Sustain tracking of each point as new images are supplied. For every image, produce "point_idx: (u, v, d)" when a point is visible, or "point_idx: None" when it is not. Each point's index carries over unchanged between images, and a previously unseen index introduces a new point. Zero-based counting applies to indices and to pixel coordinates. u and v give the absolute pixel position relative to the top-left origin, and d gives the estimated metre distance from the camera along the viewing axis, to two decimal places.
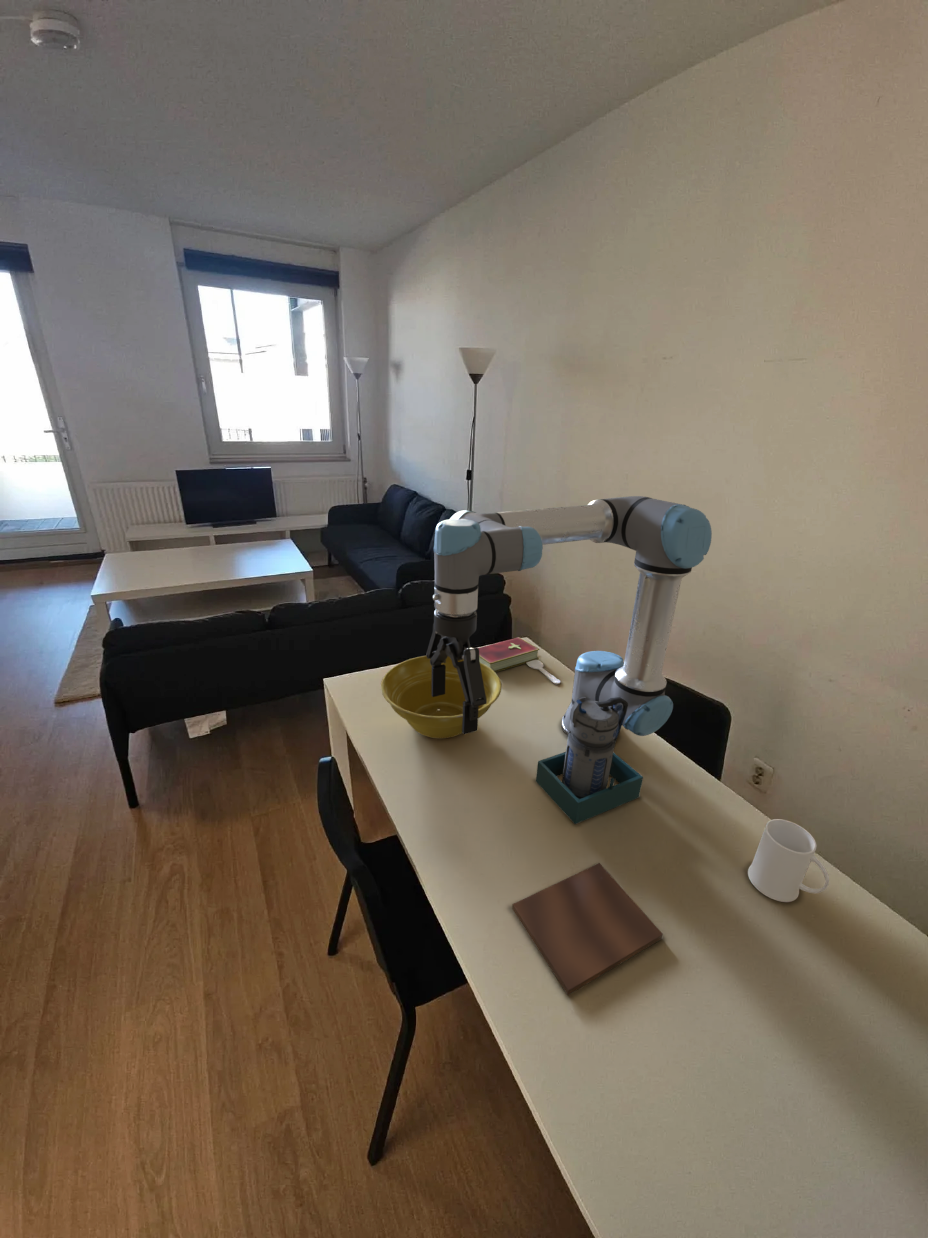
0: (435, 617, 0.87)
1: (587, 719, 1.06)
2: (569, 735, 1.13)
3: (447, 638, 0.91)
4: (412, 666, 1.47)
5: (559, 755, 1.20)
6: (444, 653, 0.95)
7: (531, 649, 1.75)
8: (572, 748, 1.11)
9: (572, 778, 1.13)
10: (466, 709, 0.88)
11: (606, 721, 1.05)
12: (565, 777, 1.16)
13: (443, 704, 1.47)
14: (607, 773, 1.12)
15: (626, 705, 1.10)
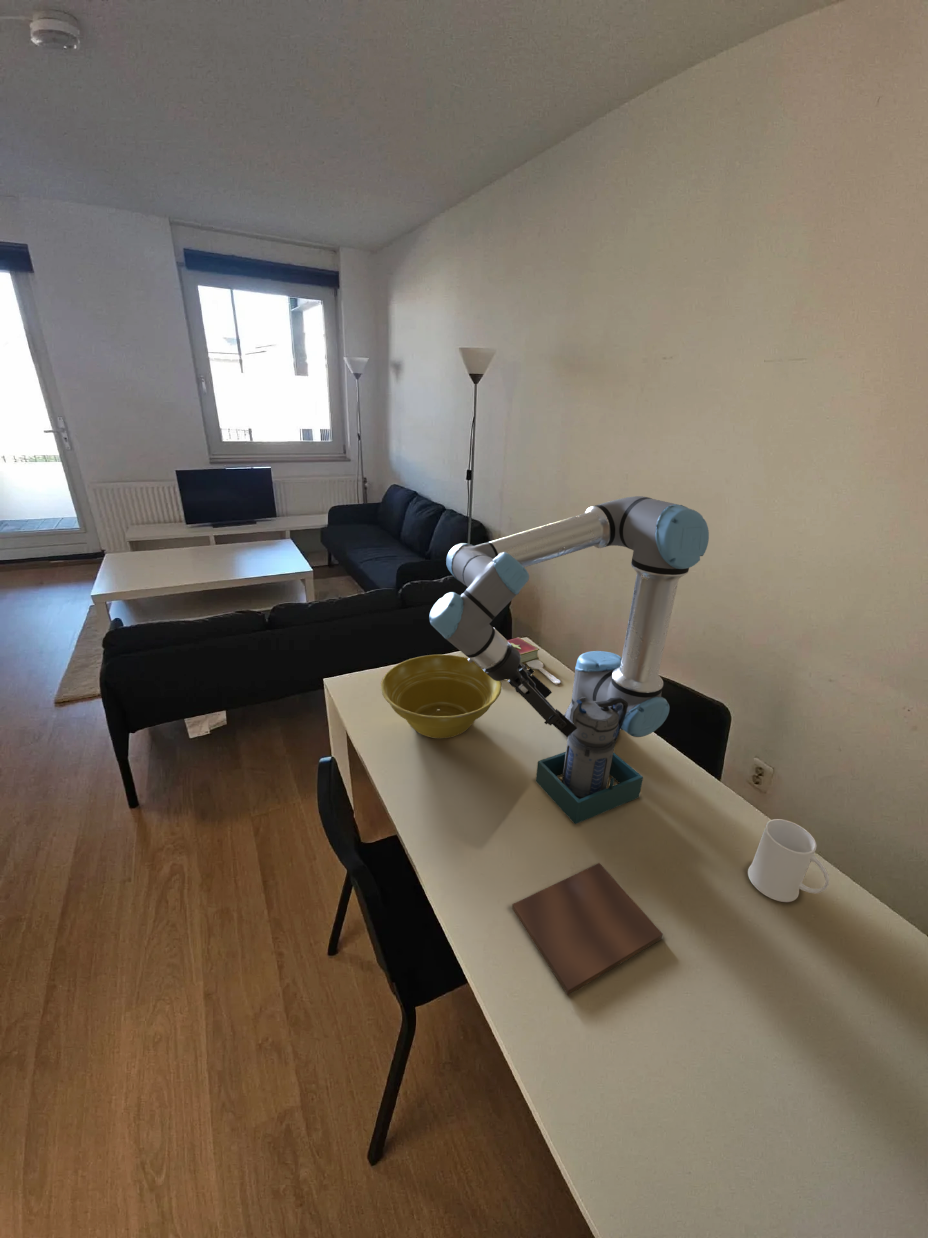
0: None
1: (587, 719, 1.06)
2: (569, 735, 1.13)
3: None
4: (412, 666, 1.47)
5: (559, 755, 1.20)
6: None
7: (531, 649, 1.75)
8: (572, 748, 1.11)
9: (572, 778, 1.13)
10: (552, 722, 0.99)
11: (606, 721, 1.05)
12: (565, 777, 1.16)
13: (443, 704, 1.47)
14: (607, 773, 1.12)
15: (626, 705, 1.10)
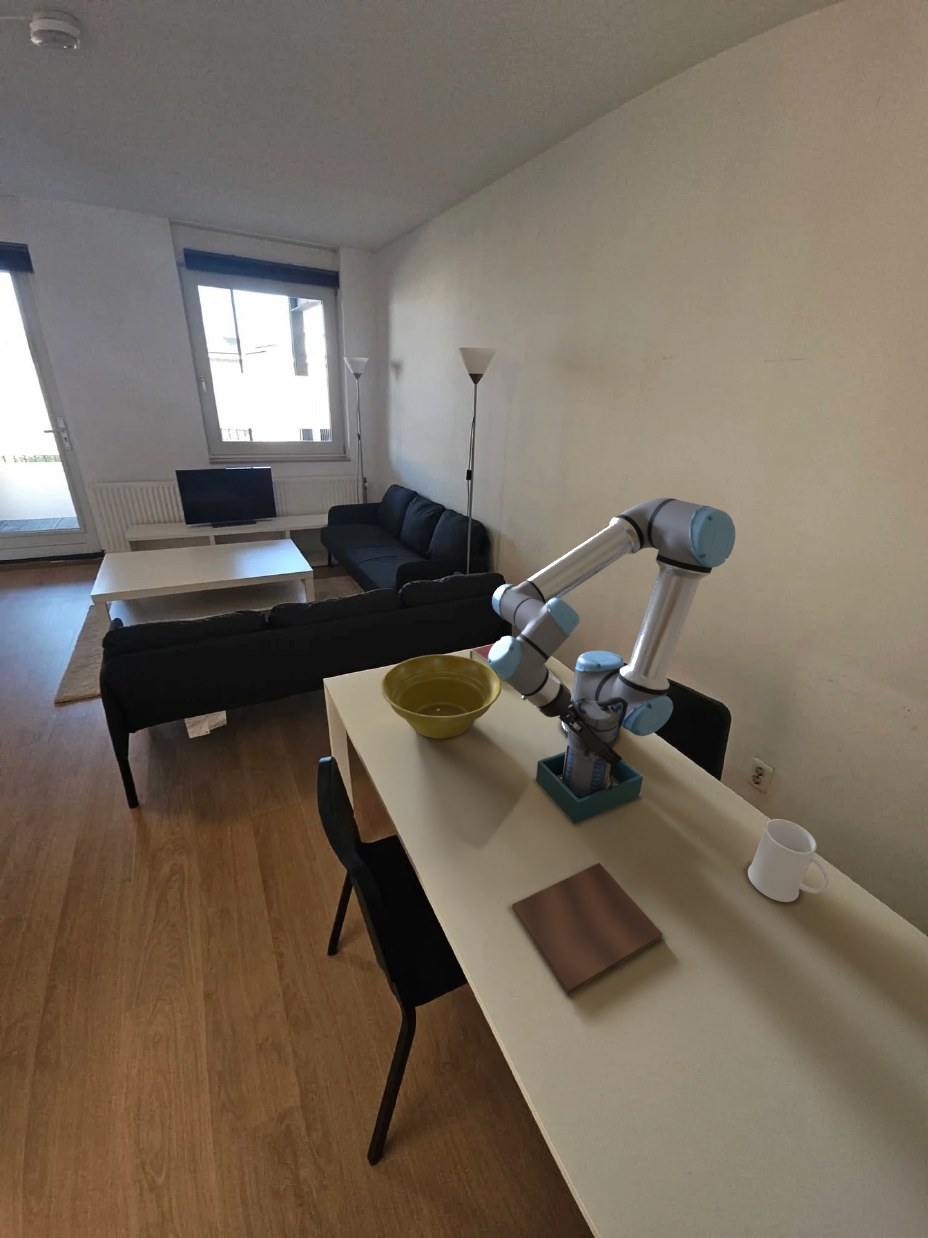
0: (535, 706, 1.06)
1: (587, 719, 1.06)
2: (569, 735, 1.13)
3: None
4: (412, 666, 1.47)
5: (559, 755, 1.20)
6: None
7: None
8: (572, 748, 1.11)
9: (572, 778, 1.13)
10: None
11: (606, 721, 1.05)
12: (565, 777, 1.16)
13: (443, 704, 1.47)
14: (607, 773, 1.12)
15: (626, 705, 1.10)
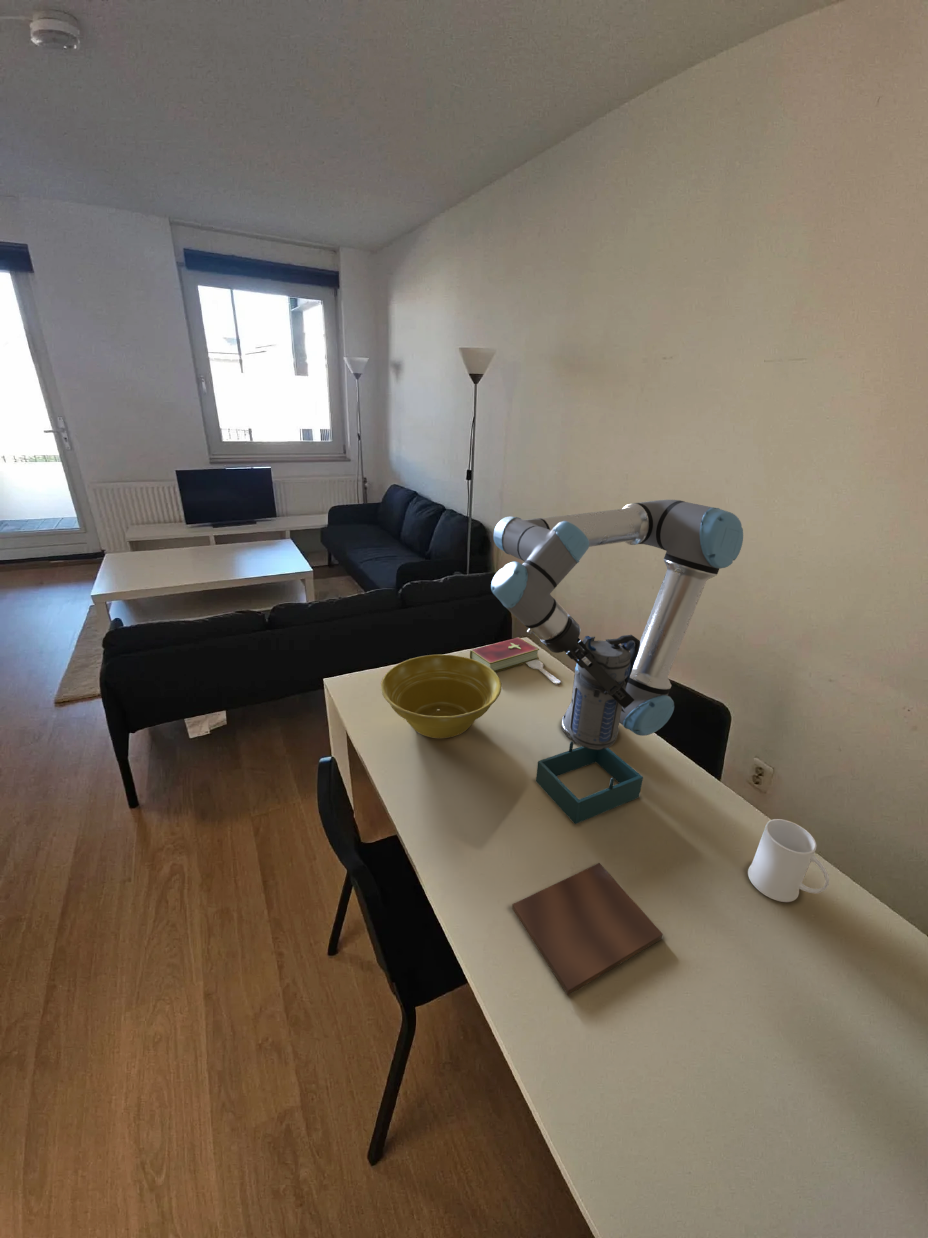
0: (542, 641, 0.99)
1: (597, 655, 0.98)
2: (577, 677, 1.06)
3: None
4: (412, 666, 1.47)
5: (559, 755, 1.20)
6: None
7: (531, 649, 1.75)
8: (580, 689, 1.04)
9: (580, 723, 1.06)
10: None
11: (617, 657, 0.98)
12: (573, 723, 1.09)
13: (443, 704, 1.47)
14: (618, 717, 1.05)
15: (638, 643, 1.03)
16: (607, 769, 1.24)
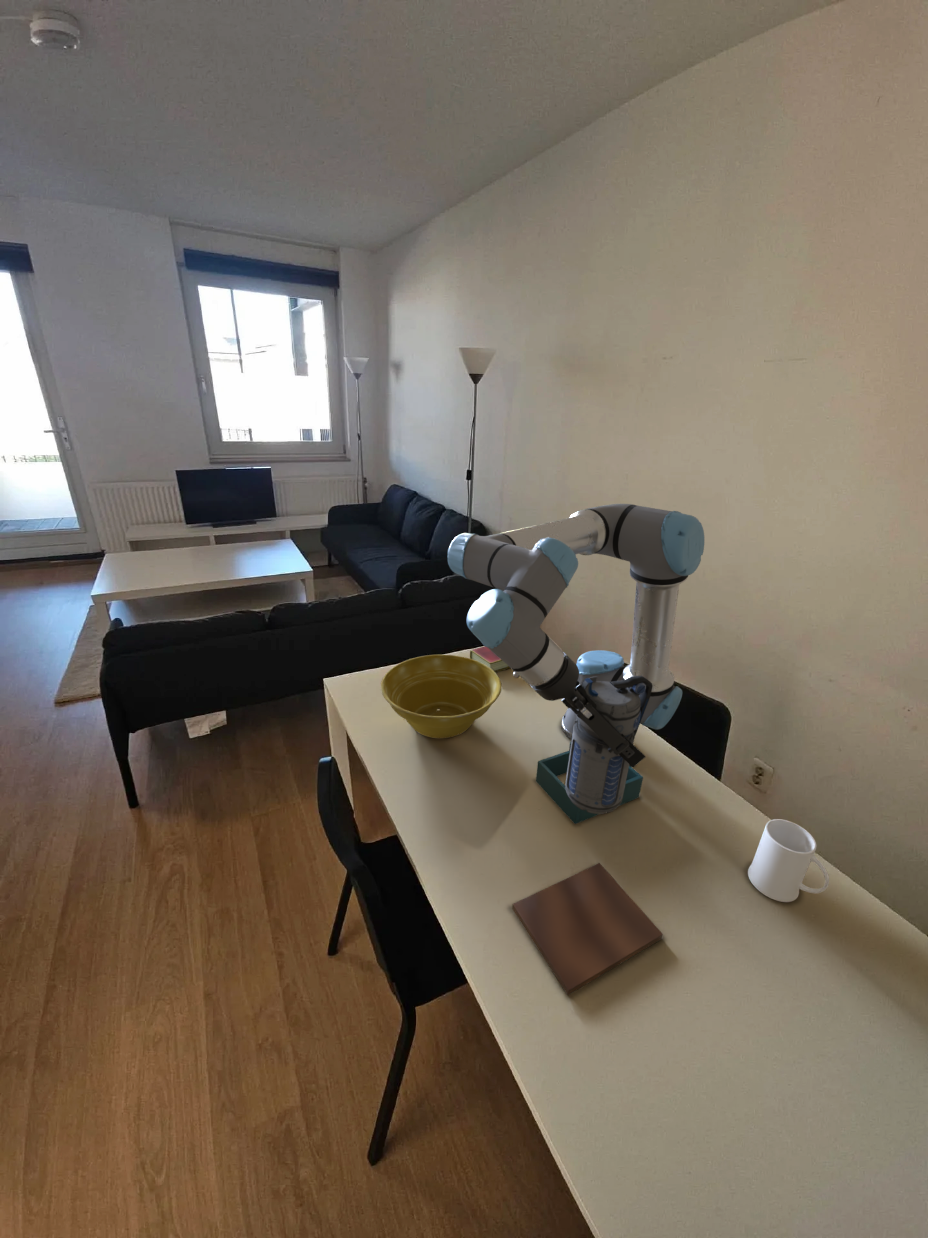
0: (531, 686, 0.80)
1: (600, 703, 0.79)
2: (575, 726, 0.87)
3: None
4: (412, 666, 1.47)
5: (559, 755, 1.20)
6: None
7: None
8: (579, 742, 0.85)
9: (579, 782, 0.86)
10: None
11: (625, 706, 0.79)
12: (569, 780, 0.90)
13: (443, 704, 1.47)
14: (624, 775, 0.86)
15: (650, 686, 0.84)
16: None
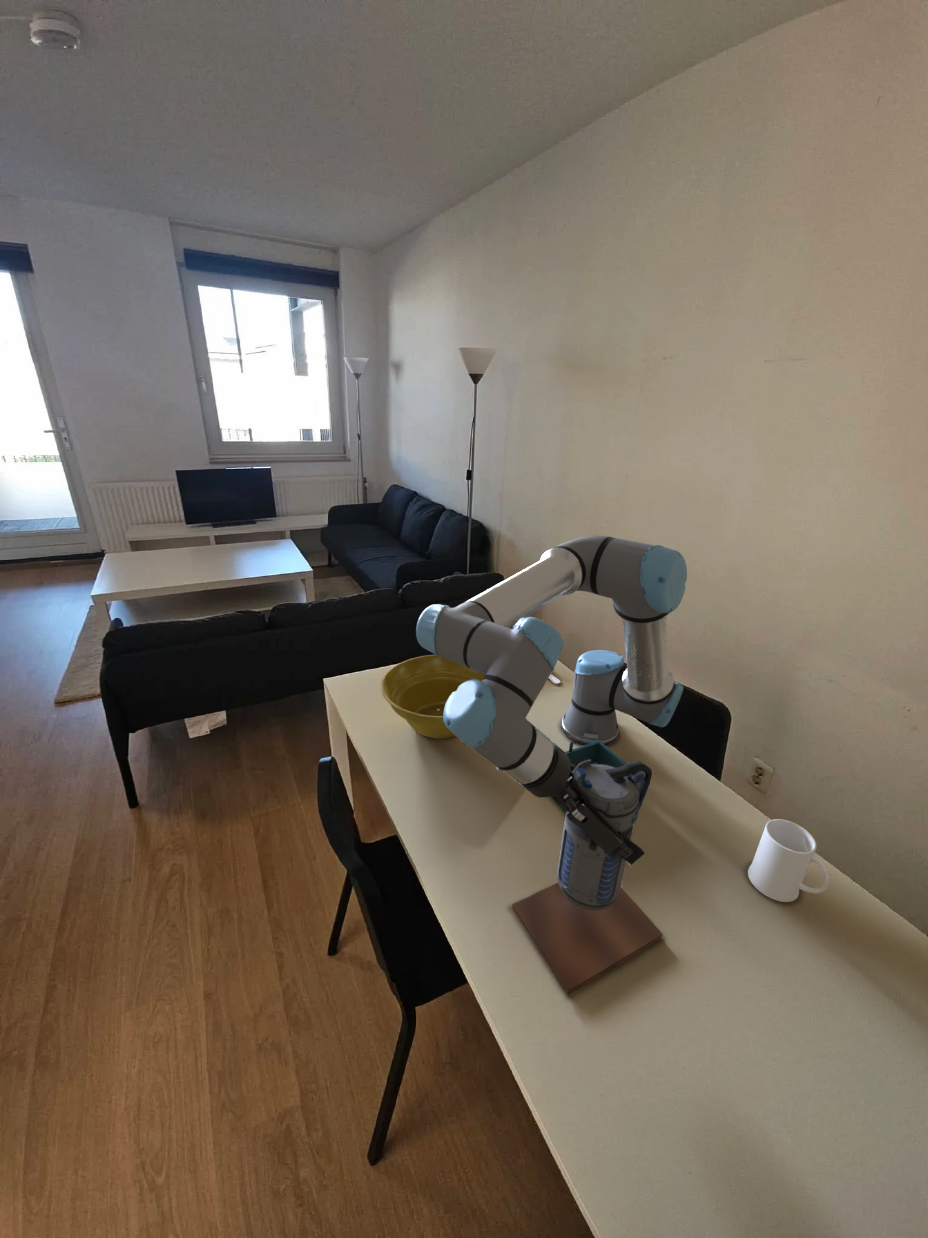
0: None
1: (594, 799, 0.71)
2: None
3: None
4: (412, 666, 1.47)
5: None
6: None
7: None
8: (571, 836, 0.76)
9: (571, 877, 0.78)
10: None
11: (622, 802, 0.71)
12: (561, 871, 0.82)
13: (443, 704, 1.47)
14: (622, 870, 0.78)
15: (650, 774, 0.76)
16: None
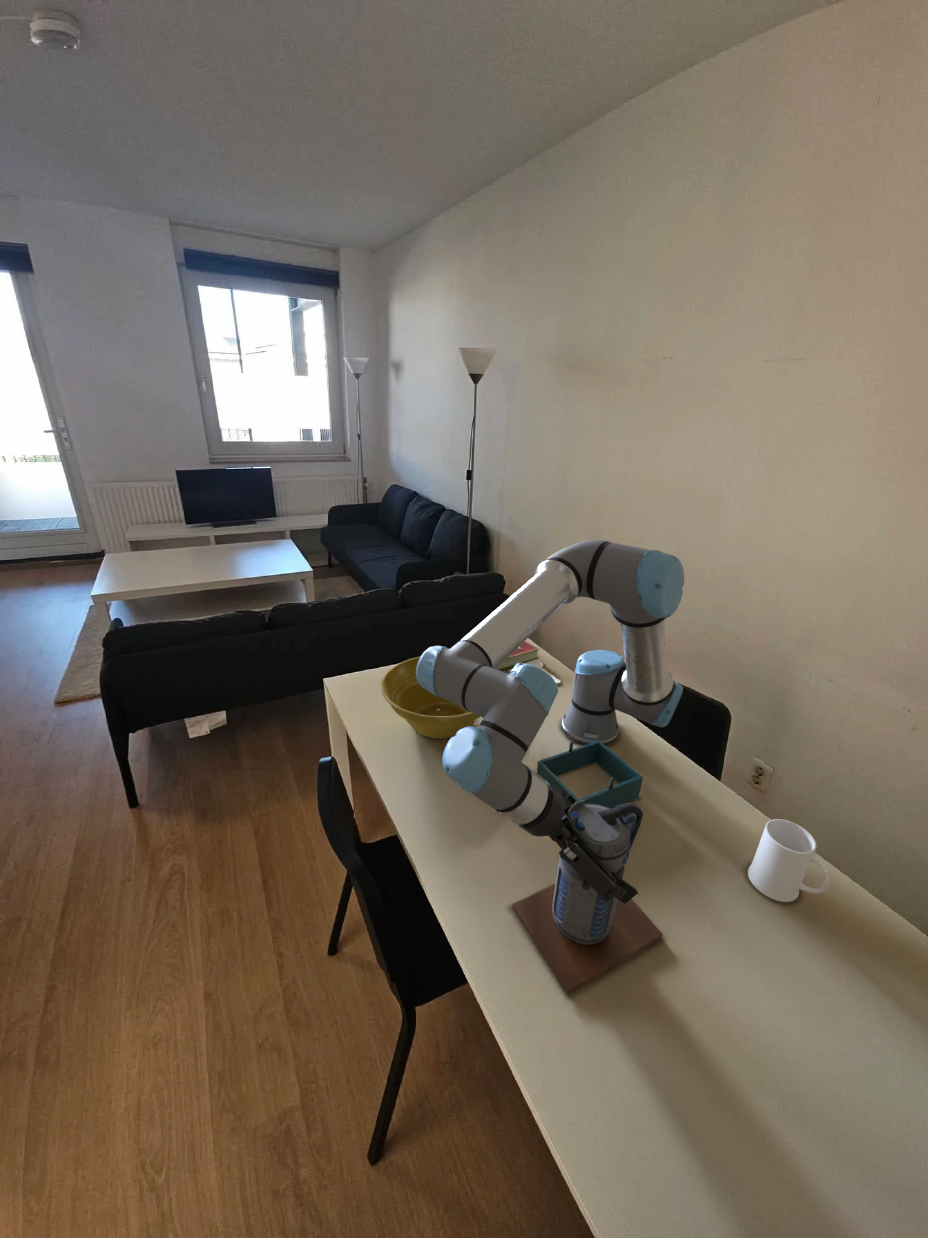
0: None
1: (586, 842, 0.74)
2: None
3: None
4: (412, 666, 1.47)
5: (559, 755, 1.20)
6: None
7: (531, 649, 1.75)
8: (566, 874, 0.80)
9: (566, 913, 0.82)
10: None
11: (613, 845, 0.74)
12: (556, 906, 0.85)
13: (443, 704, 1.47)
14: (614, 907, 0.81)
15: (641, 815, 0.79)
16: (607, 769, 1.24)
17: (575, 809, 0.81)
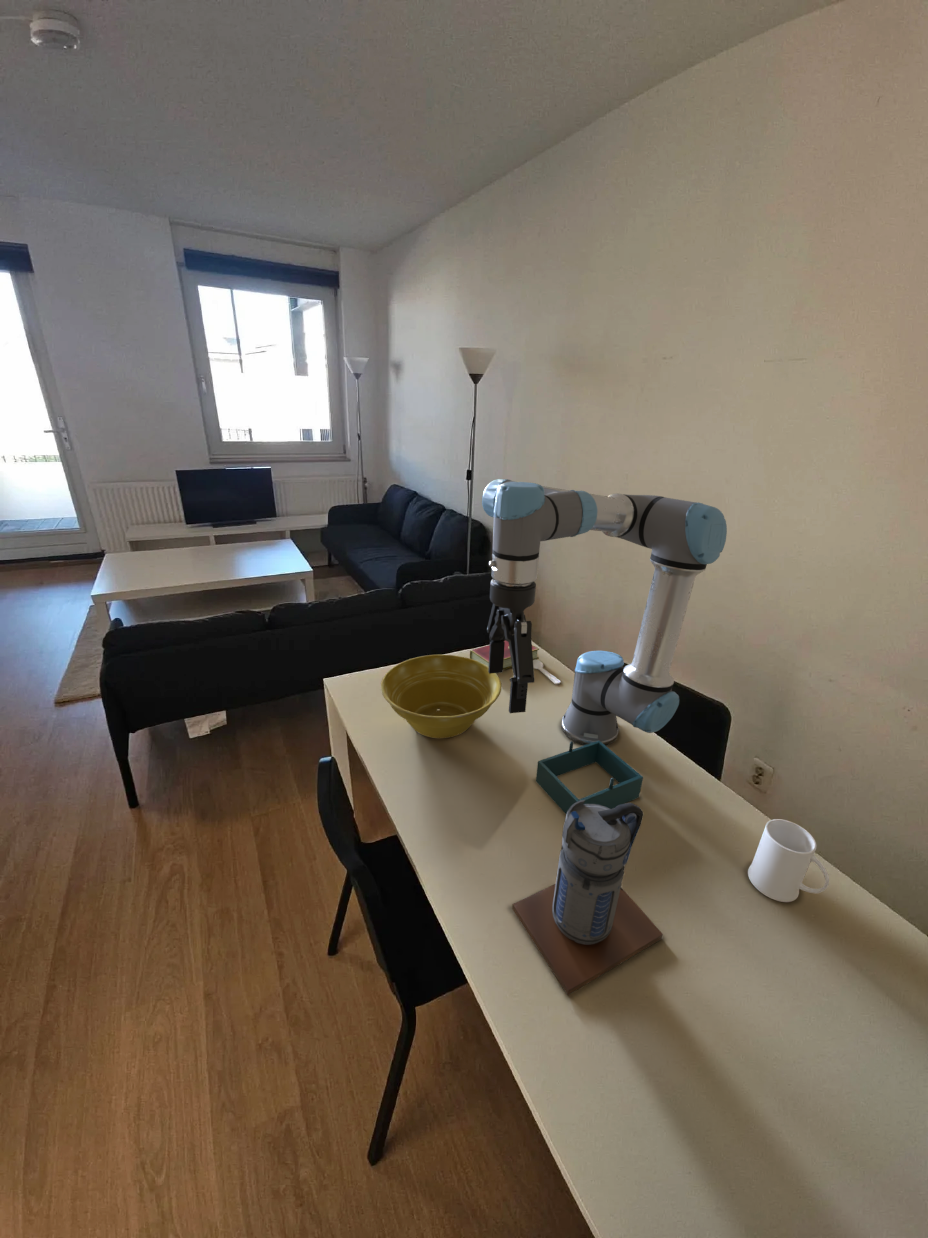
0: (491, 585, 0.83)
1: (586, 842, 0.74)
2: (562, 853, 0.82)
3: (503, 610, 0.86)
4: (412, 666, 1.47)
5: (559, 755, 1.20)
6: (502, 627, 0.91)
7: None
8: (566, 874, 0.80)
9: (566, 913, 0.82)
10: (513, 686, 0.83)
11: (613, 846, 0.74)
12: (556, 906, 0.85)
13: (443, 704, 1.47)
14: (614, 907, 0.81)
15: (641, 815, 0.79)
16: (607, 769, 1.24)
17: (575, 809, 0.81)
